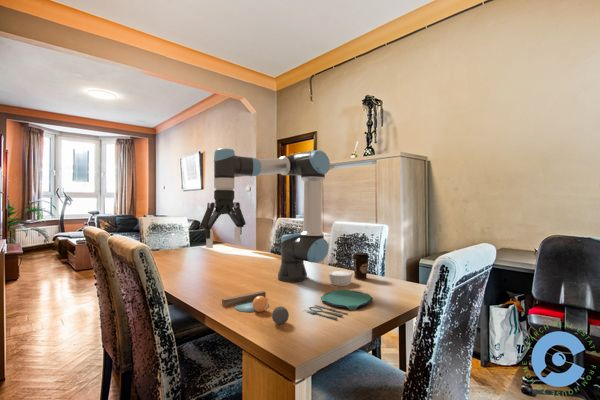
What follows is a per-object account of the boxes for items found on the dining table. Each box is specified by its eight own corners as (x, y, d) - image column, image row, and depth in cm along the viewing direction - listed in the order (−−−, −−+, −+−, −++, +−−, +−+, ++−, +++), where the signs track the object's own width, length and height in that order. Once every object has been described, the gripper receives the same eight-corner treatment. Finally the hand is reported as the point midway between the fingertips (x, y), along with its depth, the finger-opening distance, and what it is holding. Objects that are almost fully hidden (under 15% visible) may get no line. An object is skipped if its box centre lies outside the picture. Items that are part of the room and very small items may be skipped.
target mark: (266, 299, 126) (266, 298, 126) (271, 310, 113) (271, 309, 113) (233, 302, 122) (233, 301, 122) (235, 313, 110) (235, 313, 110)
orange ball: (266, 307, 116) (266, 293, 116) (268, 313, 110) (268, 297, 110) (251, 309, 114) (251, 294, 114) (253, 314, 109) (253, 299, 109)
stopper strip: (265, 297, 128) (265, 291, 128) (224, 306, 117) (224, 300, 117) (263, 296, 129) (263, 290, 129) (222, 305, 119) (222, 298, 119)
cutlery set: (380, 300, 124) (380, 294, 124) (340, 325, 102) (340, 318, 102) (339, 291, 137) (339, 286, 137) (295, 311, 114) (294, 305, 114)
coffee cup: (371, 277, 160) (371, 252, 160) (366, 281, 153) (366, 255, 153) (356, 275, 165) (355, 251, 165) (349, 279, 158) (349, 253, 158)
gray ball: (286, 319, 104) (286, 303, 104) (290, 326, 99) (290, 308, 99) (270, 321, 103) (270, 305, 103) (273, 327, 97) (273, 310, 97)
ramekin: (324, 282, 152) (324, 271, 152) (344, 279, 157) (344, 269, 157) (336, 288, 142) (336, 276, 142) (356, 285, 147) (356, 274, 147)
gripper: (241, 190, 129) (241, 241, 129) (189, 188, 109) (189, 248, 109) (254, 190, 125) (254, 242, 125) (203, 188, 105) (202, 250, 104)
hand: (224, 245), depth 117 cm, fingers open, 13 cm apart
